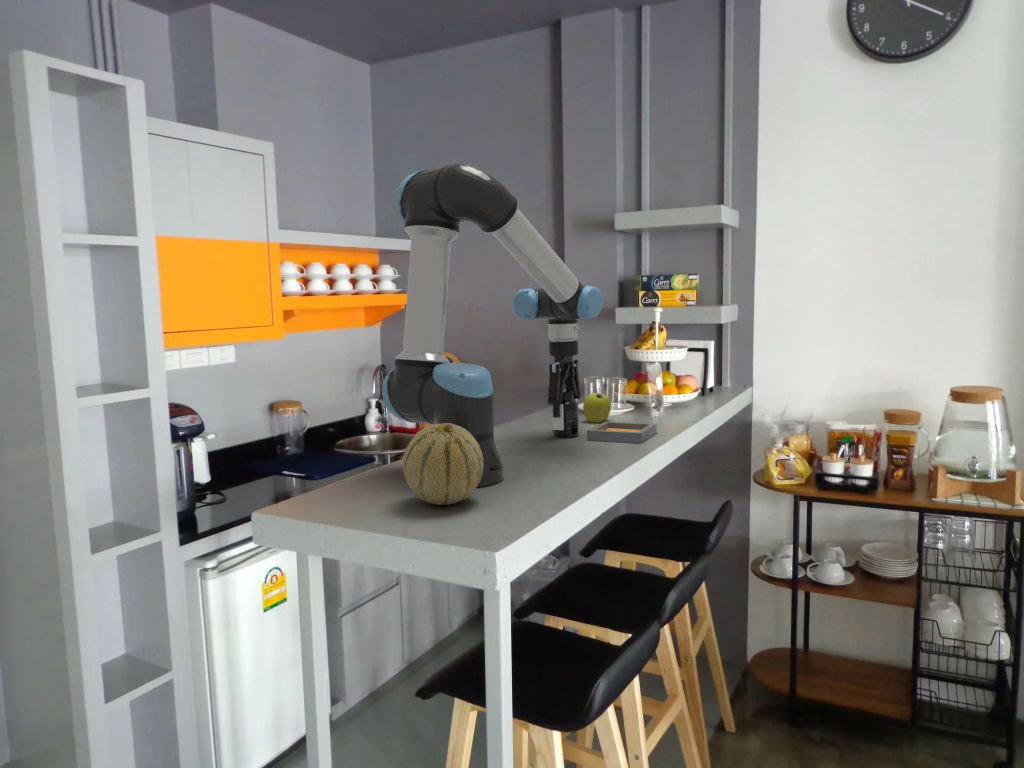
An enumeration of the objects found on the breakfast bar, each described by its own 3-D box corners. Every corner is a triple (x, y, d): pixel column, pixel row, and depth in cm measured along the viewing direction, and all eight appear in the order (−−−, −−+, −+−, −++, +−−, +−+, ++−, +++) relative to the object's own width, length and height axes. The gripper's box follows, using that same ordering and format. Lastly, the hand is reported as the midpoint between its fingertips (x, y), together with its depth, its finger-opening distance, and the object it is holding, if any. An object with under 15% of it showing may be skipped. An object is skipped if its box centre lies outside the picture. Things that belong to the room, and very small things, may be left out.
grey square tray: (641, 443, 185) (640, 433, 185) (587, 440, 191) (586, 430, 191) (656, 433, 198) (656, 423, 197) (605, 430, 204) (605, 421, 203)
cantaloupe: (445, 488, 148) (441, 412, 146) (502, 500, 139) (499, 419, 137) (386, 506, 137) (382, 424, 135) (444, 520, 127) (440, 432, 126)
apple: (578, 416, 222) (587, 383, 221) (604, 423, 222) (614, 391, 221) (579, 421, 214) (589, 387, 213) (606, 428, 214) (616, 395, 213)
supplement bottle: (579, 433, 201) (578, 388, 200) (578, 438, 194) (577, 391, 193) (553, 433, 202) (551, 389, 200) (552, 438, 195) (550, 392, 194)
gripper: (560, 343, 184) (562, 434, 187) (591, 337, 203) (593, 420, 206) (532, 343, 187) (535, 433, 190) (565, 337, 207) (567, 419, 209)
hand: (565, 426), depth 198 cm, fingers open, 9 cm apart
